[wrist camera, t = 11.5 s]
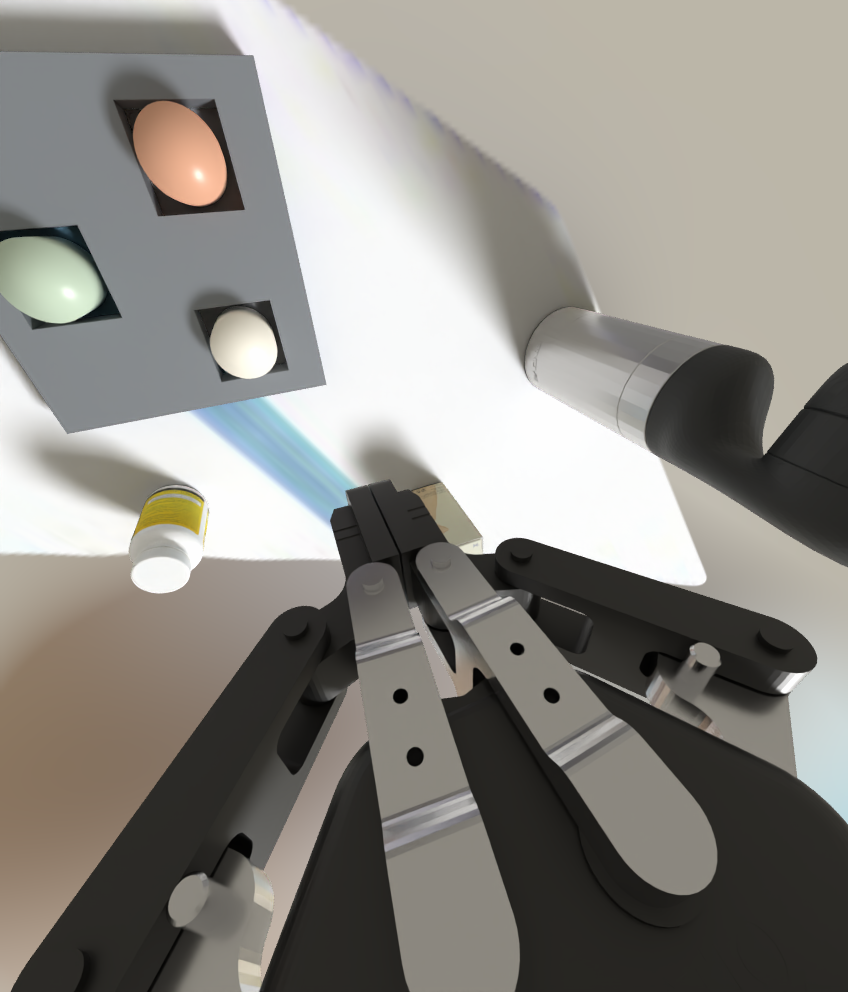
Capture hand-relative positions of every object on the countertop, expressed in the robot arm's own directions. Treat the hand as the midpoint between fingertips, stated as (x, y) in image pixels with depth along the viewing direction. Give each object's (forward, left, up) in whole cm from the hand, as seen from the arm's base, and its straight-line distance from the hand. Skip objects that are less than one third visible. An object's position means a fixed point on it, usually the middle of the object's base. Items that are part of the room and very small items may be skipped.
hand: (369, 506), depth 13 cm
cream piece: (+4, -1, -27) cm, 27 cm away
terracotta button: (+4, -12, -27) cm, 29 cm away
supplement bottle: (+15, +14, -27) cm, 34 cm away
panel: (+8, -6, -27) cm, 29 cm away
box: (-11, +22, -27) cm, 37 cm away
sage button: (+14, -6, -27) cm, 31 cm away
